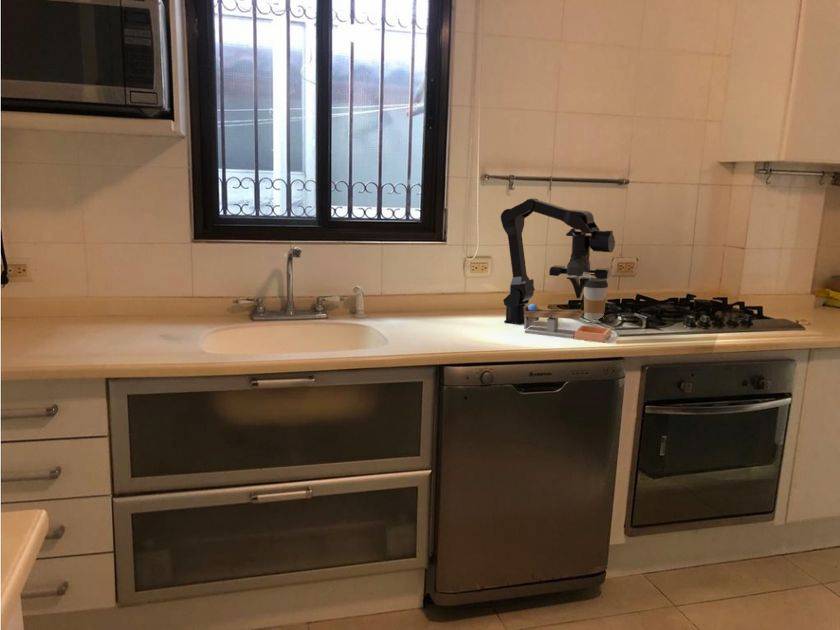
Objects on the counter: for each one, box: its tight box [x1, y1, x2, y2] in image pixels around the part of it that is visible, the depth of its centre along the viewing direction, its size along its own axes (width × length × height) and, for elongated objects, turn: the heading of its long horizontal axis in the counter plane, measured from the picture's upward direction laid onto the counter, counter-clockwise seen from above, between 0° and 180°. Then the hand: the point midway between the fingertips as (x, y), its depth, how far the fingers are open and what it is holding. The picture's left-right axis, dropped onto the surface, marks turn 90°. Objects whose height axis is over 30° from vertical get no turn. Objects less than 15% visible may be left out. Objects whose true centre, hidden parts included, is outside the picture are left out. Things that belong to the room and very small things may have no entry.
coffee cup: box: [583, 277, 609, 319], centre depth 230 cm, size 8×8×15 cm
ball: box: [528, 303, 538, 311], centre depth 216 cm, size 3×3×3 cm
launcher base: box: [523, 317, 577, 339], centre depth 214 cm, size 17×8×5 cm, turn 63°
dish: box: [574, 324, 612, 344], centre depth 208 cm, size 9×9×3 cm
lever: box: [524, 304, 584, 323], centre depth 215 cm, size 18×10×5 cm, turn 62°
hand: (578, 298), depth 215 cm, fingers closed
